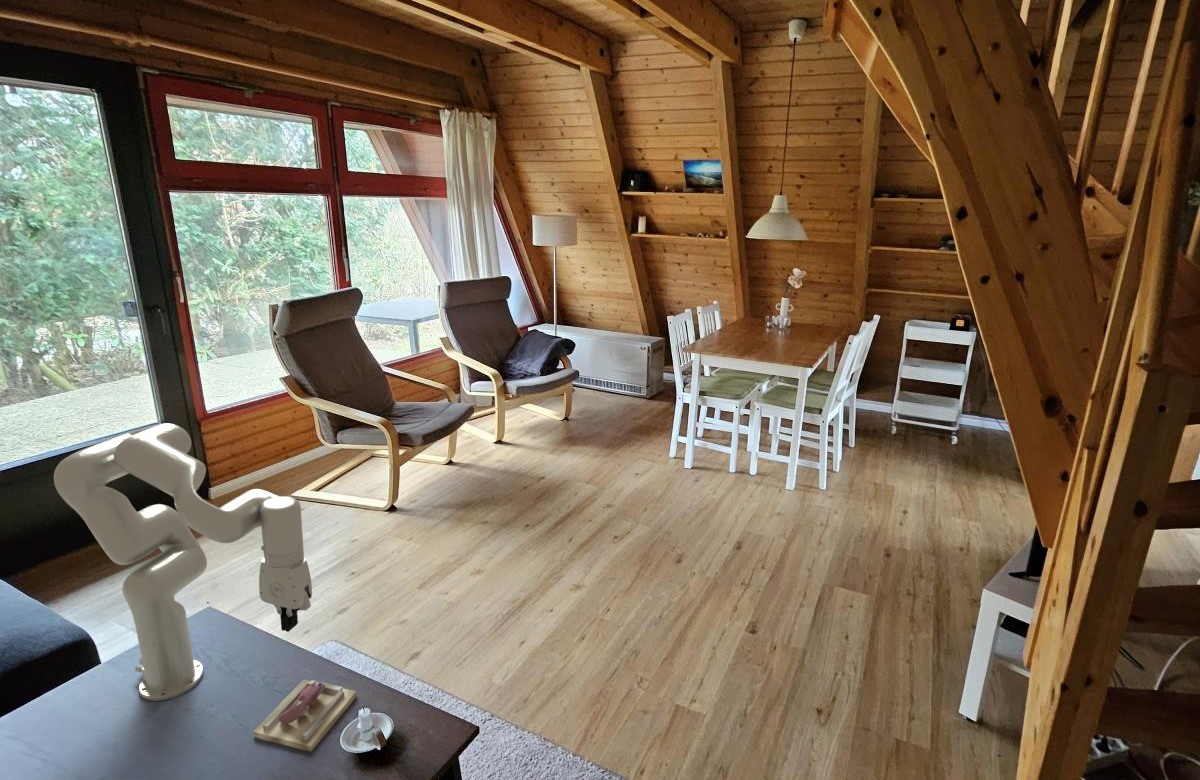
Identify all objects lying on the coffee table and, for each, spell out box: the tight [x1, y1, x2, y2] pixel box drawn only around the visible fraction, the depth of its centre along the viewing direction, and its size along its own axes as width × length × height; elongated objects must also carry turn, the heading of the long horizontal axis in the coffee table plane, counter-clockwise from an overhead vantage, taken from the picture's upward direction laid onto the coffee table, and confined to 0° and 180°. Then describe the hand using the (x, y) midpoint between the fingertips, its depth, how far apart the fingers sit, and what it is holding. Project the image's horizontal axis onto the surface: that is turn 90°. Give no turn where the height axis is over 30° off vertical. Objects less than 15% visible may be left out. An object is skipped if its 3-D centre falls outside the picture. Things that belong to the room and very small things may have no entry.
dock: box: [252, 679, 357, 753], centre depth 139 cm, size 14×16×3 cm
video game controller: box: [279, 680, 325, 724], centre depth 138 cm, size 10×5×7 cm, turn 168°
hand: (289, 627), depth 137 cm, fingers closed
